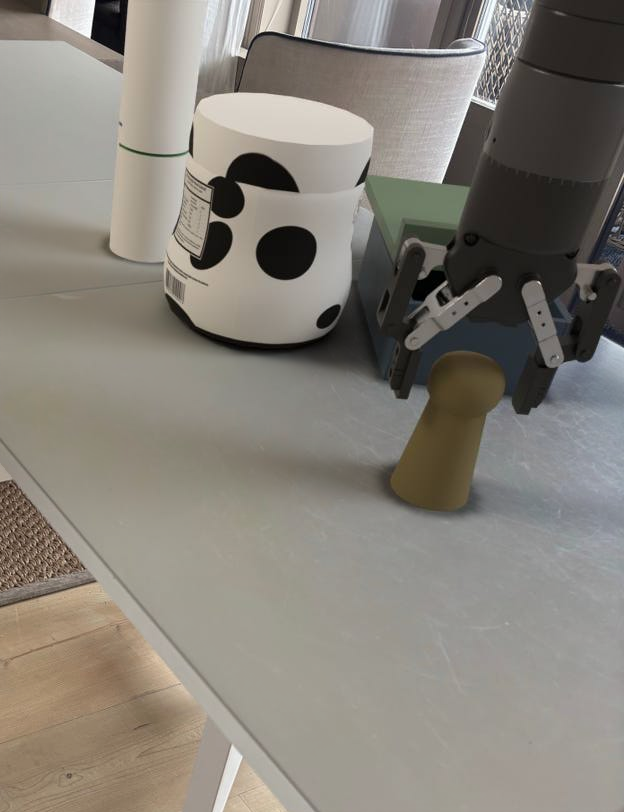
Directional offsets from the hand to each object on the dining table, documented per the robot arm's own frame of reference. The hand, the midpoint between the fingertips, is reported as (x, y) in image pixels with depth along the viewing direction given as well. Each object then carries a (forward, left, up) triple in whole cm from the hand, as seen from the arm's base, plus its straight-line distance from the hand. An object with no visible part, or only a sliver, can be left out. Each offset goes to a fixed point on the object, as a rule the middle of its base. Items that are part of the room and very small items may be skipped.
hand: (459, 402), depth 68 cm
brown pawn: (0, 0, -8) cm, 8 cm away
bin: (-6, -28, -8) cm, 30 cm away
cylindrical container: (+24, -41, -8) cm, 48 cm away
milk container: (+13, -27, -8) cm, 31 cm away
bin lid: (-6, -37, 0) cm, 37 cm away
